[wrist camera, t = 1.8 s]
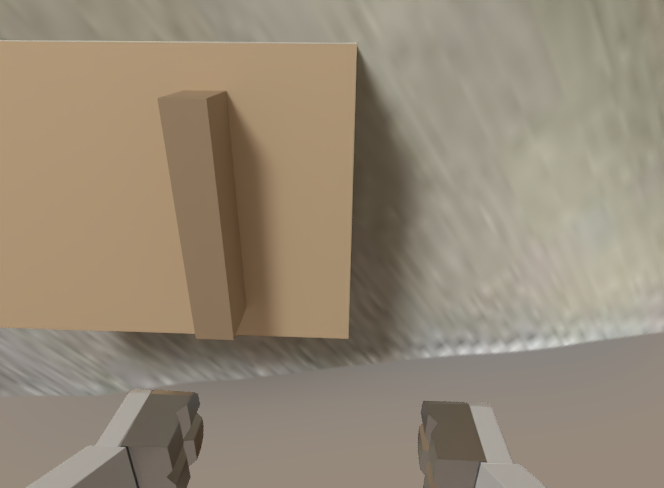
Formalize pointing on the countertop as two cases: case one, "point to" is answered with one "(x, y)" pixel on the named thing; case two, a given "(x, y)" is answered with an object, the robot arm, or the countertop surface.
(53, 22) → the countertop surface
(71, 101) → the tan box lid
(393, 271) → the countertop surface
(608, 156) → the countertop surface
